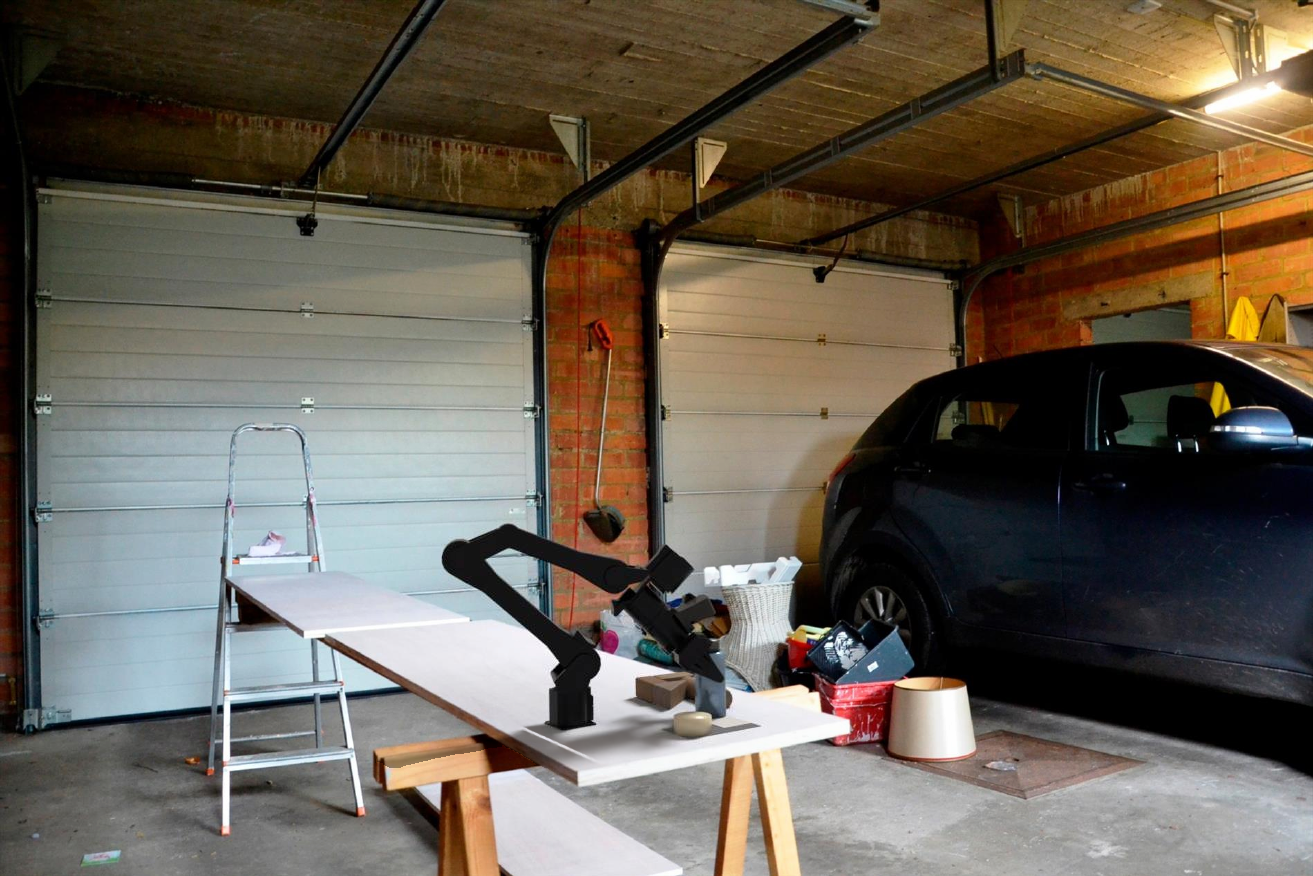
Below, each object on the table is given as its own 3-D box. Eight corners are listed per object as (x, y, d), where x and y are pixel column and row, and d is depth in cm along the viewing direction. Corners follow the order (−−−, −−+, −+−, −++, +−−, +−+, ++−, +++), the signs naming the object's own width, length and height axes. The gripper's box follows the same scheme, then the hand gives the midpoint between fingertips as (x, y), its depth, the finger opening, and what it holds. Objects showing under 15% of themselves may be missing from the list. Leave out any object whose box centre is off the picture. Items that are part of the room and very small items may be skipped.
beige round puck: (688, 738, 154) (687, 722, 154) (666, 730, 159) (666, 715, 159) (719, 732, 158) (719, 716, 158) (697, 725, 163) (697, 709, 163)
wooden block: (634, 677, 187) (679, 694, 171) (685, 671, 192) (734, 687, 176) (635, 697, 187) (680, 716, 171) (685, 690, 192) (734, 708, 176)
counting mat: (689, 741, 154) (689, 738, 154) (661, 731, 161) (661, 728, 161) (761, 728, 162) (761, 725, 162) (731, 719, 168) (731, 716, 168)
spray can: (707, 722, 166) (706, 643, 167) (689, 716, 170) (688, 639, 171) (732, 718, 169) (731, 640, 170) (714, 712, 173) (712, 636, 174)
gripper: (698, 584, 161) (766, 650, 162) (674, 574, 179) (735, 634, 181) (651, 636, 159) (719, 703, 161) (631, 621, 177) (693, 680, 179)
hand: (718, 677), depth 170 cm, fingers open, 6 cm apart
